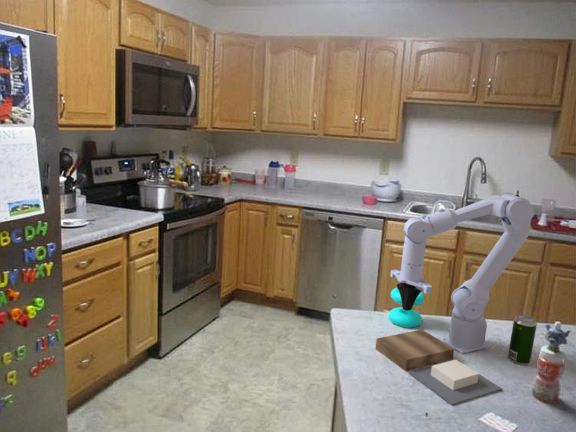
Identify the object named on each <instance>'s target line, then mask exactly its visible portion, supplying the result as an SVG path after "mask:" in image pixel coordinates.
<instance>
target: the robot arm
mask: <svg viewBox="0 0 576 432" xmlns="http://www.w3.org/2000/svg"><path fill="white" fill-rule="evenodd" d="M488 215H489V216H490V215H491V216H494V217H498V218H500V220H501V224H502V227H503V229H504V230H503V231H504V232H503V233H502V235H501V236H500V238H499V239H498V241H497V242H496V243H495V245H494V246H493V248H492V249H491V250H490V252H489V253H488V255H486V257H485V259H484V260H483V262H482V263H481V265H479V267H478V269H477V270H476V272H475V273H474V274H473V276H472V277H471V278H470V279H468V280H465V281H464V282H463V283H462V284H461V286H459V287H458V288H456V289H454V291H452V293H451V298H450V299H451V303H452V304H453V305H454V306H453V309H452V311H451V319H450V326H449V331H448V332H449V334H448V337H446V338H442V339H441V340H440V341H442V342H444V343H446V344H447V345H449V346H451V347H452V348H454V351H457V352H459V353H461V354H466V353H467V354H468V353H471V352H475V351H480V350H484V349H487V345H485V342H486V336H487V335H486V334H487V327H488V326H487V325H488V323H487V320H486V318H485V317H484V314H485V312H486V306H487V305H488V303H489V302H490V290H491V289H492V288H493V286H494V285H495V283H496V282H497V280H498V279H499V278H500V277H501V275H502V274H503V273H504V272H505V270H506V268H507V267H508V265H510V263H511V261H512V260H513V258H514V257H515V256H516V255H517V253H518V252H519V250H520V249H521V247H522V246H523V245H524V243H525V242H526V240H527V239H528V237H529V235H530V230H531V223H532V219H533V217H534V216H535V212H534V209H533V207H532V203H531V201H529V200H528V199H527V198H525V197H519V196H517V195H515V194H513V193H511V192H503V193H500V194H494V195H491V196H489V197H487V198H484V199H481V200H478V201H475V202H473V203H471V204H468V205H466V206H463V207H461V208H458V209H455V210H451V209H450V208H445V209H444V208H443V207H440V208H437V211H436V212H431V213H429V214H420V216H419V218H418V217H411V218H409V219H408V220H407V221H406V222H405V223H404V225H403V226H402V230H403V233H404V242H403V246H402V256H401V265H400V266H401V267H400V270H398V269H391V270H390V277H391V278H395V279H397V282H399V283H397V284H396V288H398V290H399V292H400V296H401V300H402V305H401V307H403V309H404V310H405V311H408V310H411V309H413V308H414V306H413V304H414V302H415V300H416V298H417V297H418V295H419V294H420V293H421V292H422V293H423V294H425V295H429V294H430V295H431V294H433V286H432V285H431V284H429V283H428V282H427V281H425V280H424V279H423V270H424V262H425V254H426V245H427V244H426V243H427V241H428V240H429V239H430V237H433V236H436V235H439V234H442V233H446V232H449V231H452V230H455V228H456V227H457V225H458V224H459V223H462V222H466V221H469V220H473V219H476V218H480V217H485V216H488Z"/></svg>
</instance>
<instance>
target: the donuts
mask: <svg viewBox="0 0 576 432" xmlns="http://www.w3.org/2000/svg"><path fill="white" fill-rule="evenodd" d="M390 297H391V300H393V301H394V302H395V303H396V304H398V305H401V306H400V307H395V308H392V309H391V310H390V311H389V313H388V319H389V322H391V323H393V324H394V325H397V326H398V327H402V328H416V327H418V326H420V325H421V324H422V322H423V321H422V320H423V319H422V316H421V314H420V313H419V312H418V311H417V310H415V309H413V308H412V309H411V310H408V311H405V310H404V309H403V307H402V300H401V296H400V292H399V290H398V288H397V287H395V288H393V289H392V290H391V292H390ZM424 301H425V295H424V292H423V291H421V293H420V294H419V295H418V297H417V298H416V300H415V302H414V304H413V307H416V306H420V305H421V304H423V303H424Z"/></svg>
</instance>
